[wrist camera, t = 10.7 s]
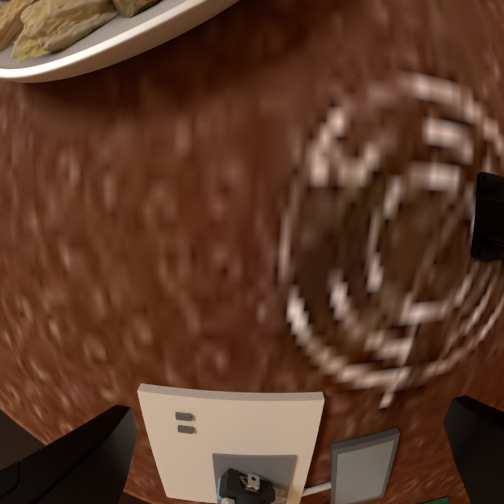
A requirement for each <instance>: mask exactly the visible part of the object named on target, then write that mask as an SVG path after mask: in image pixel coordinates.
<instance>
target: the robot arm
mask: <svg viewBox="0 0 504 504" xmlns="http://www.w3.org/2000/svg"><path fill="white" fill-rule="evenodd" d="M482 177H483V179H484V180H482ZM477 250H478V252H477V254H476V251H477ZM471 255H472V257H473V258H476V259H495V260H504V177H502V176H498V175H494V174H490V173H486V172H479V173H478V175H477V191H476V209H475V221H474V231H473V240H472V248H471ZM443 423H444V428H445V431H446V434H447V437H448V440H449V444H450V447H451V450H452V454H453V457H454V460H455V463H456V466H457V469H458V471H459V474H460V476H461V479H462V481H463V484H464V487H465V489H466V492H467V494H468V497H469V500H470V503H471V504H504V412H502V411H499V410H497V409H495V408H493V407H490V406H488V405H486V404H484V403H481V402H479V401H477V400H475V399H472V398H470V397H468V396H465V395H464V396H459V397H456V398H454V399H453V400H452V401H451V404H450V406H449V408H448V410H447V413H446V415H445V417H444V422H443ZM136 438H137V426H136V422H135V419H134V415H133V411H132V409H131V408H130V407H128V406H122V405H115V406H113V407H111V408H110V409H108V410H106V411H105V412H103V413H101V414H100V415H98V416H97V417H95V418H93V419H92V420H90V421H88V422H86V423H85V424H83V425H81V426H80V427H78V428H76V429H75V430H73V431H71V432H69V433H68V434H66V435H64V436H62V437H61V438H59V439H57V440H55V441H54V442H52V443H50V444H48V445H47V446H45V447H43V448H41V449H39V450H38V451H36V452H34V453H32V454H30V455H28V456H26V457H25V458H23V459H21V461H17V462H15V463H13V464H11V465H9V466H7V467H5V468H3V469H1V470H0V504H118V503H119V500H120V498H121V495H122V492H123V489H124V487H125V484H126V481H127V477H128V473H129V468H130V464H131V459H132V455H133V451H134V446H135V442H136Z"/></svg>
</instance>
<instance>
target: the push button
mask: <svg viewBox="0 0 504 504" xmlns="http://www.w3.org/2000/svg"><path fill="white" fill-rule="evenodd" d="M277 492H281V493H277ZM284 493H286V491H282V490H278V489H277V488H273V484H272V482H270V481H266V480H262V479H259V476H258V475H254V474H251V473H250V474H248V476H247V475H244V474H240V473H238V471H237V470H235V469H232V468H229V469H228V470H227V471H226V472H225V473H224V474H223V475H222V476H221V477H220V478H219V480H218V488H217V498H218V499H219V500H222V502H221V504H271V503H273V502H274V501H278V502H284V501H285V500H286V498H282V497H277V495H283V494H284ZM275 494H277V495H275ZM278 499H282V500H278Z"/></svg>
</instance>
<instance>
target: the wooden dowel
mask: <svg viewBox="0 0 504 504" xmlns="http://www.w3.org/2000/svg"><path fill="white" fill-rule="evenodd" d="M330 488H331V482H327V483H324V484H320V485H317V486H314V487H310V488H307V489H303V492H302V496H306V495H310V494H313V493H317V492H320V491H323V490H327V489H330ZM302 496H301V497H302Z"/></svg>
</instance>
